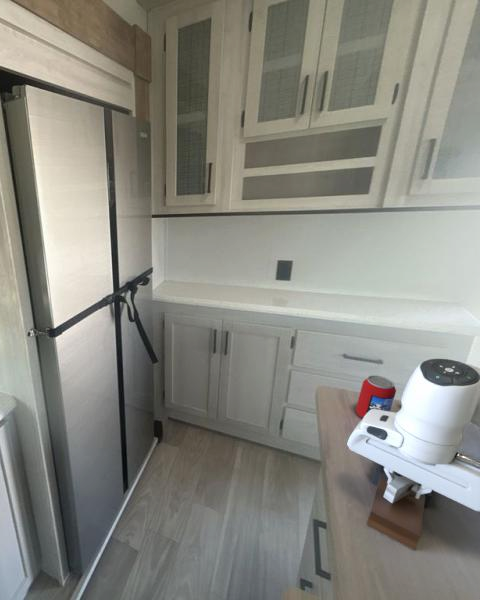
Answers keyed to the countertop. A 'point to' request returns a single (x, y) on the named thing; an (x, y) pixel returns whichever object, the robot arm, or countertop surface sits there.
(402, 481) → the white red-tipped brick
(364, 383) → the beverage can
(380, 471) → the sink basin
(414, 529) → the tap plinth
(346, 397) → the countertop surface
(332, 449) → the countertop surface
